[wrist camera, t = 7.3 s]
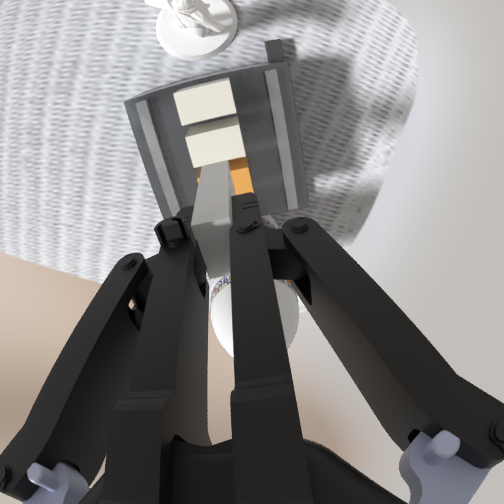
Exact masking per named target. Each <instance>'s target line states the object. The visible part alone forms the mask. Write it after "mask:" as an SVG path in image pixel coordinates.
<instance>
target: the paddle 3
mask: <svg viewBox="0 0 504 504" xmlns="http://www.w3.org/2000/svg"><path fill="white" fill-rule="evenodd" d="M226 161H227V160H226ZM222 162H223V161H222ZM217 163H218V162H217ZM228 163H229V168H230V172H231V176H232V180H233V184H234V188H235V193H236V195H239V194H244V193H248V192H252V193H254V192H253V187H252V182H251V177H250V172H249V167H248V163H247V158H246V156H245V157H240V158H235V159H231V160H228ZM213 164H214V163H213ZM209 165H210V164H209ZM204 166H205V165H204ZM201 168H202V166H200V167H199V171H198V176H197V181H198V184H199V178H200V173H201Z"/></svg>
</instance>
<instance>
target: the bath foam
mask: <svg viewBox="0 0 504 504" xmlns="http://www.w3.org/2000/svg"><path fill="white" fill-rule="evenodd" d="M261 219H262V222H263V224H264V225H265V226H267V227H269V228H273V229H278V226H277V224H276V222H275V220H274V218H273V217H272V216H271V215H265V216H261ZM274 284H275V289H276V294H277V300H278V305H279V310H280V315H281V321H282V326H283V331H284V336H285V342H286V347H287V350H288V348H289V347H290V345H291V343H292V341H293V339H294V337H295V334H296V331H297V327H298V321H299V307H298V299H297V295H296V292H295V290H294V288H293V287H292V285H291V283H290V280H275V279H274ZM210 311H211V318H212V324H213V328H214V331H215V333H216V335H217V338H218V340H219V341H220V343H221V344H222V346H223V347H224V348H225V349H226V350H227V352H228V353H229V354H230V355H231V356H232V357H233V358H234V354H233V331H232V306H231V277H230V275H229V276H224V277H219V278H213V279H211V305H210Z"/></svg>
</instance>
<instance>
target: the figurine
mask: <svg viewBox="0 0 504 504" xmlns="http://www.w3.org/2000/svg"><path fill="white" fill-rule="evenodd" d="M145 2H146V3H147V4H148V5H150V6H153V7H155V8H161V9H162V10H161V12H160V13H159V16H158V19H157V23H156V33H157V37H158V40H159V42H160V44H161V45H162V47H163V48H164V49H165V50H166V51H167V52H168V53H170V54H171V55H173V56H175V57H177V58H180V59H184V60H189V61H197V60H204V59H207V58H211V57H213V56H215V55H217V54H219V53H220V52H221V51H223V50H224V49H225V48H226V47H227V46H228V45H229V44H230V43H231V41H232V40H233V38H234V36H235V33H236V31H237V25H238V20H237V14H236V11H235V9H234V7H233V6H232V4H231V3H230V2H229V1H228V0H145Z"/></svg>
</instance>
